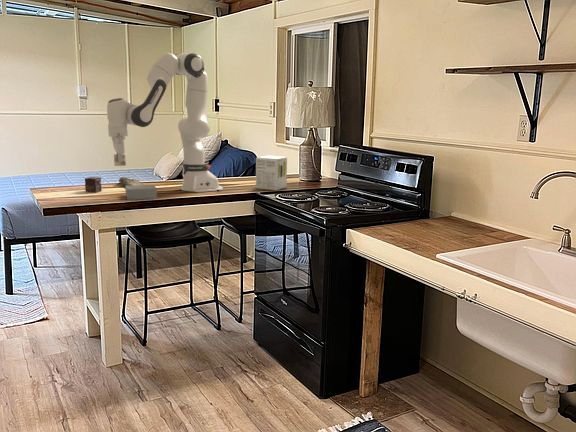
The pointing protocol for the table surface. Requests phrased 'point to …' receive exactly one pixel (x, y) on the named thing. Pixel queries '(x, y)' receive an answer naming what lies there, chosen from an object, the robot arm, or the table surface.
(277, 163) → the supplement box
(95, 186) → the box
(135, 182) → the elongated rock
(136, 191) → the block
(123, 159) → the sage block
